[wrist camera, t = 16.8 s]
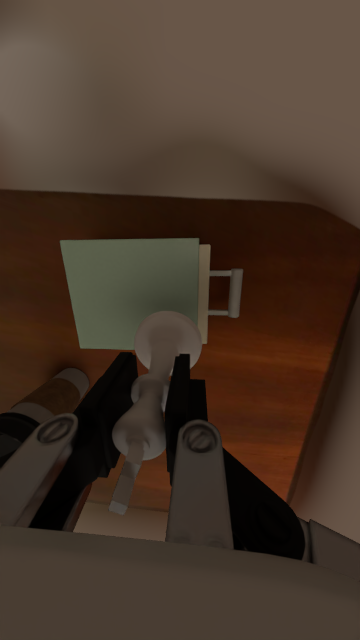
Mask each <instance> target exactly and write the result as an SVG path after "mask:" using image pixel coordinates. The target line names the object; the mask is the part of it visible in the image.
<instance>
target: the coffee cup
mask: <svg viewBox="0 0 360 640" xmlns="http://www.w3.org/2000/svg"><path fill="white" fill-rule="evenodd" d="M88 387H89V380H88V378H87V376H86V375H85V374H84V373H83V372H82V371H80V370H78V369H75V368H67V369H65V370H63V371H62V372H60V373H59V374H58V375H56V376H55V377H54V378H52V379H51V380H49V381H48V382H46V383H45V384H43V385H42V386H41V387H39V388H38V389H36V390H35V391H33V392H32V393H31V394H29V395H28V396H26V397H25V398H24V399H22V400H21V401H19V402H18V403H16V404H15V405H14V406H13V407H12V408H11V409H10V410H9V411H8V412H7V413H2V414H0V457H2V456H4V455H6V454H8V453H10V452H12V451H14V450H16V449H18V448H19V447H20V446H21V445H22V444H23V442H24V441H25V440H26V439H27V438H28V437H29V436H30V435H31V433H32V432H33V431H34V430H35V429H36V428H37V427H38V426H39V425H40V424H41V423H42V422H44V421H45V420H47V419H49V418H51V417H53V416H55V415H59V414H63V413H70V414H72V413H73V411H74V410H75V408H76V407H77V405H78V403H79V401H80V400H81V398H82V397H83V395H84V394H85V392H86V391H87V389H88Z"/></svg>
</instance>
